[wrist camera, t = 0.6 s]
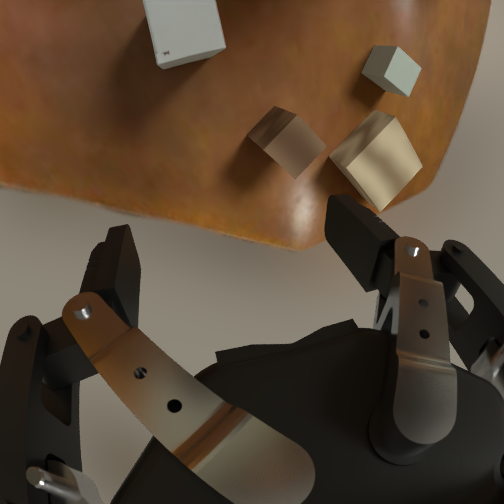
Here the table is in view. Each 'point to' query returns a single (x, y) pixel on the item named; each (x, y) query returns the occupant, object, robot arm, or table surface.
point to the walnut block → (287, 140)
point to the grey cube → (391, 69)
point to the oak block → (377, 159)
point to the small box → (184, 30)
